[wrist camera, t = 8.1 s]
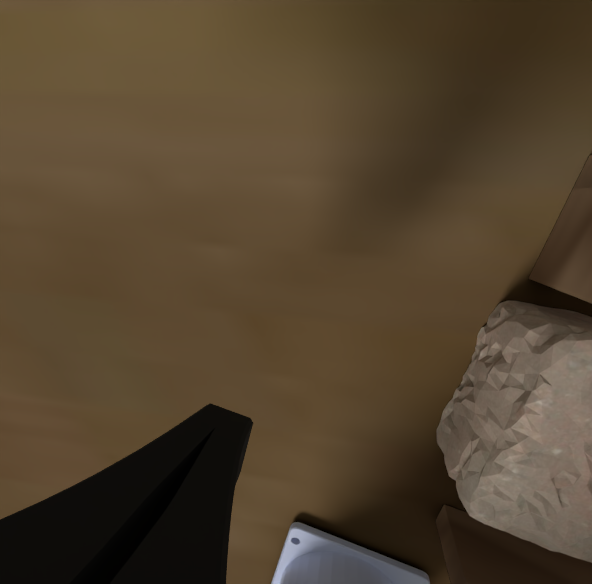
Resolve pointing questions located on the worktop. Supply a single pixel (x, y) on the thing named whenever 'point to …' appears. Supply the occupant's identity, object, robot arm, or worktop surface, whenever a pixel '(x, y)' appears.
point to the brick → (526, 427)
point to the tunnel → (483, 538)
